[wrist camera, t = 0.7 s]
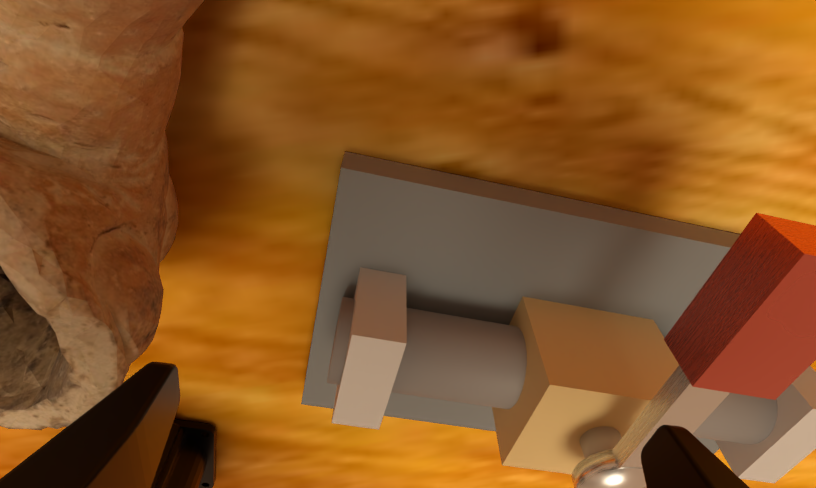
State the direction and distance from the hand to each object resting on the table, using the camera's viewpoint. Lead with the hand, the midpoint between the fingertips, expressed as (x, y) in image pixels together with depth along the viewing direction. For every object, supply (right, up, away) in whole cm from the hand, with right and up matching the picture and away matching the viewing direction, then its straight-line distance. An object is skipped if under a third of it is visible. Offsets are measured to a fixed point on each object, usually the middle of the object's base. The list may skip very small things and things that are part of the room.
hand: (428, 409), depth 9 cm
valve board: (+7, -1, +16) cm, 17 cm away
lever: (+8, -1, +7) cm, 11 cm away
